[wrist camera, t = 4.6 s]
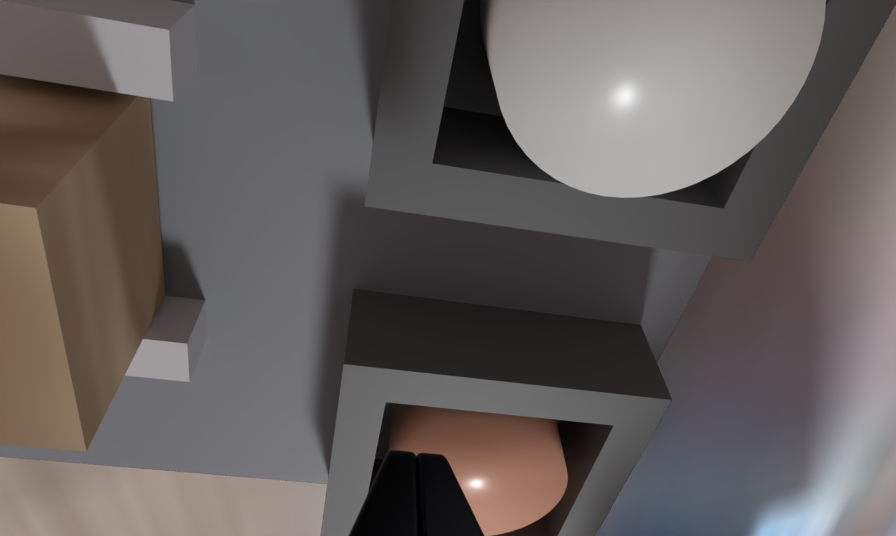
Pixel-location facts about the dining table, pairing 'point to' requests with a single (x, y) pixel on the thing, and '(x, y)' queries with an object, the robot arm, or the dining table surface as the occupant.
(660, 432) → the dining table surface
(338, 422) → the control panel
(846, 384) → the dining table surface
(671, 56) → the button grey
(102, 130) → the upright wooden block
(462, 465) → the button terracotta
